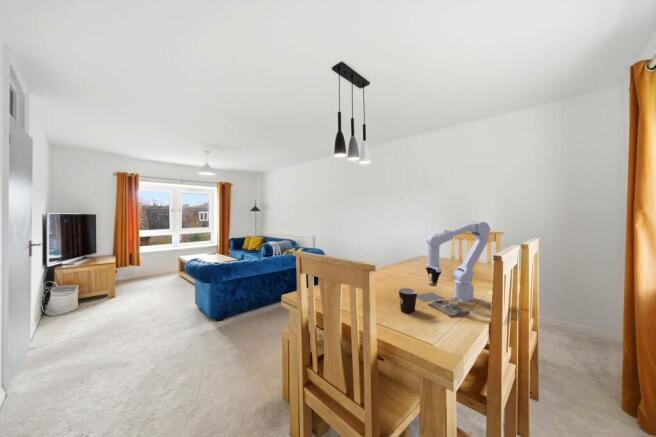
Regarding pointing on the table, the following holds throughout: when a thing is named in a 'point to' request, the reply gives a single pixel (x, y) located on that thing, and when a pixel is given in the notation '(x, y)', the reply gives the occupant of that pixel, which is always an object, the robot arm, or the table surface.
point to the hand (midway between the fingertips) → (433, 281)
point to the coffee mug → (407, 300)
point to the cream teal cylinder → (453, 303)
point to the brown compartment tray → (447, 308)
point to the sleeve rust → (431, 281)
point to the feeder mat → (428, 297)
